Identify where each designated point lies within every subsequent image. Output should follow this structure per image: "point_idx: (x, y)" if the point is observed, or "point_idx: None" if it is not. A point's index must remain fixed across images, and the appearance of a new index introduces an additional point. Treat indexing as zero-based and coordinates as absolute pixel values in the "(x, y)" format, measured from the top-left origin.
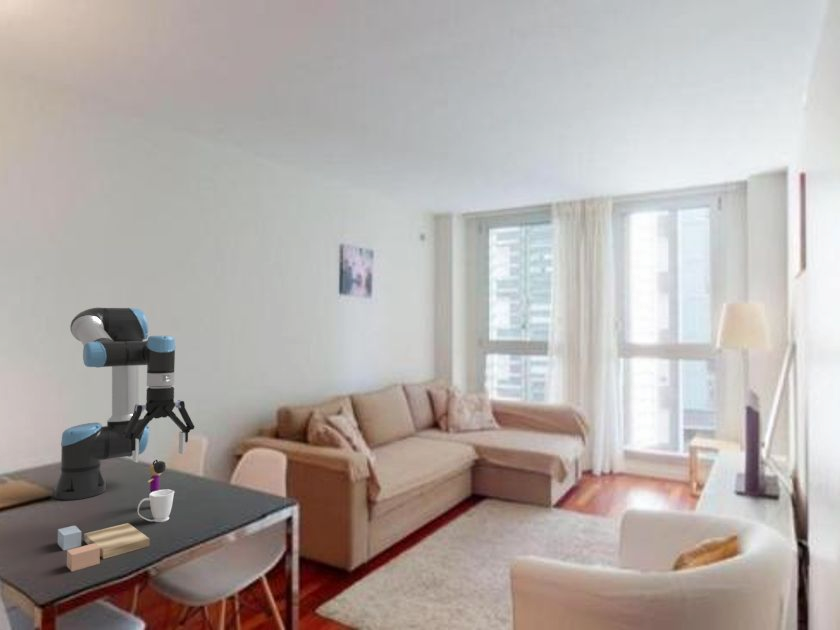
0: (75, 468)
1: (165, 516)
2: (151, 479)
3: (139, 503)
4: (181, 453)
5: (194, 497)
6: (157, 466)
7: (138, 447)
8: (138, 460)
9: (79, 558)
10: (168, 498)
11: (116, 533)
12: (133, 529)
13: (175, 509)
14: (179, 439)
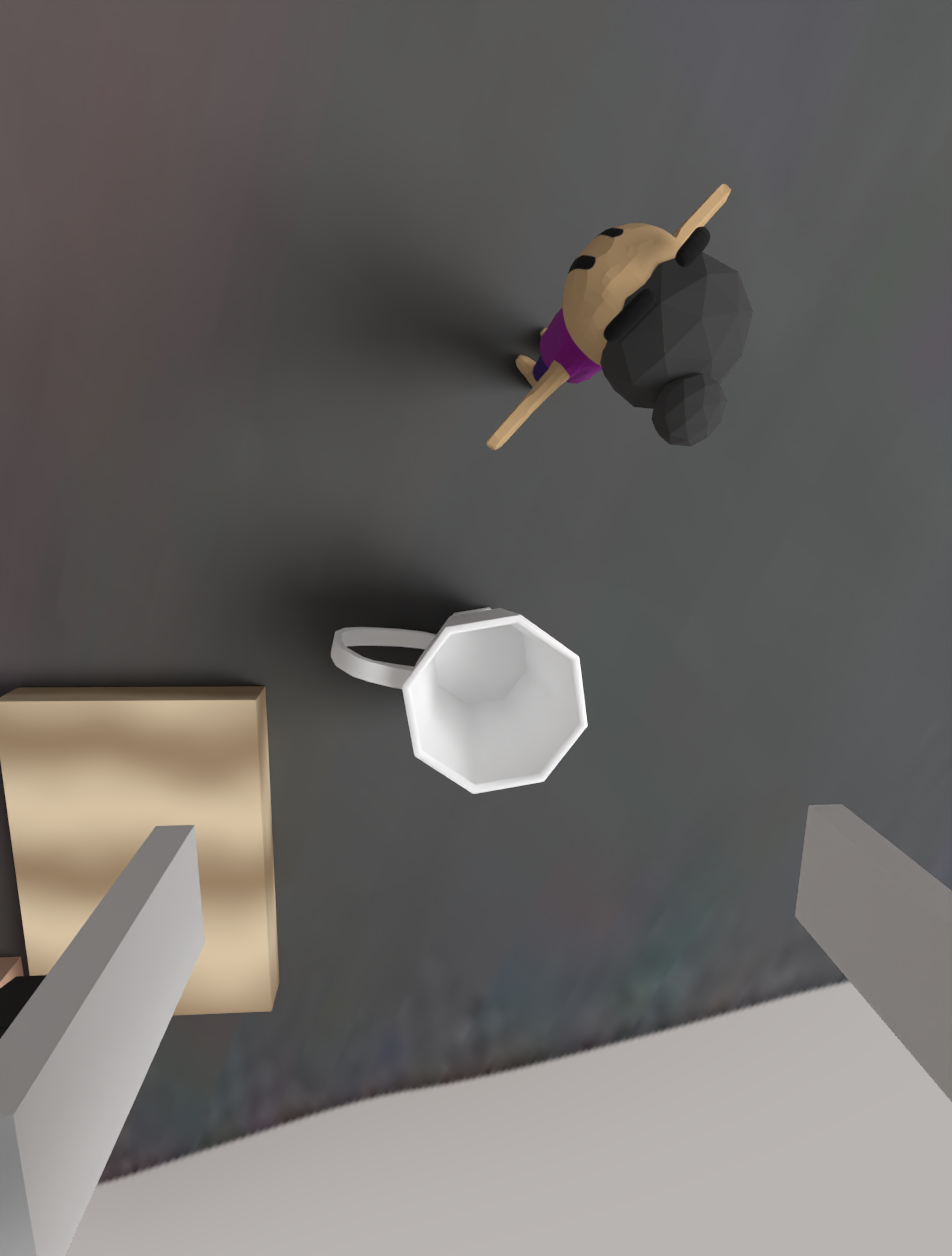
0: None
1: (487, 702)
2: (542, 395)
3: (337, 661)
4: (802, 887)
5: (837, 368)
6: (633, 388)
7: (118, 1124)
8: (198, 955)
9: None
10: (511, 768)
11: (150, 828)
12: (246, 832)
13: (623, 527)
14: (950, 949)
